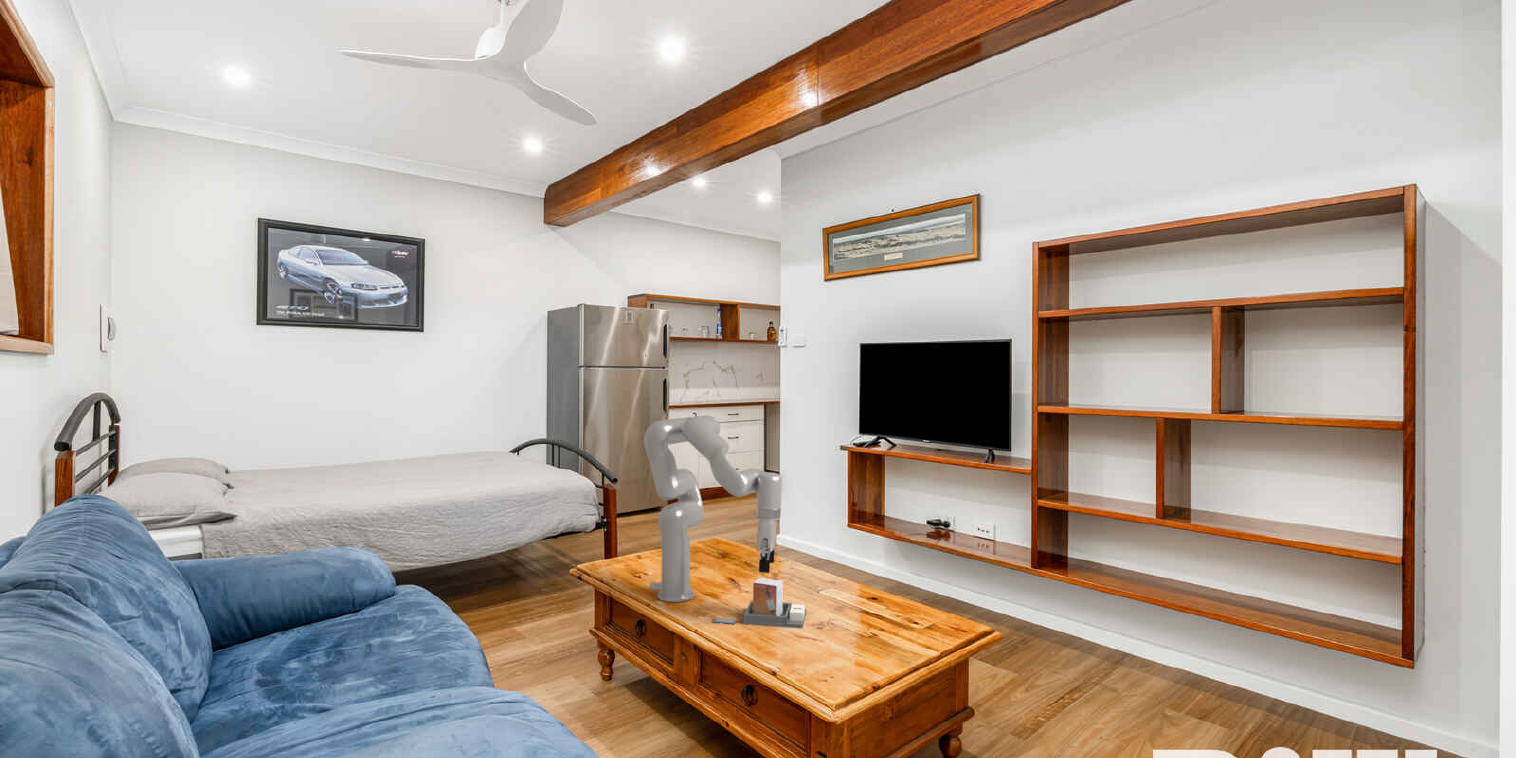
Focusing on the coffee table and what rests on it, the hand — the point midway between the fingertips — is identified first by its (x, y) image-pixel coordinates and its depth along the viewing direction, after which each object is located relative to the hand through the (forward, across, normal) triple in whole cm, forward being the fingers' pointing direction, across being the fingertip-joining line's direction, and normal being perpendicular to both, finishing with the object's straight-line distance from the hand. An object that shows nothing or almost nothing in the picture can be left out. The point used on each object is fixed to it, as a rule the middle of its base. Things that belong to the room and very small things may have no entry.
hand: (766, 567), depth 211 cm
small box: (+15, +1, +1) cm, 15 cm away
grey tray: (+16, 0, +4) cm, 16 cm away
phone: (+17, +6, -12) cm, 21 cm away
